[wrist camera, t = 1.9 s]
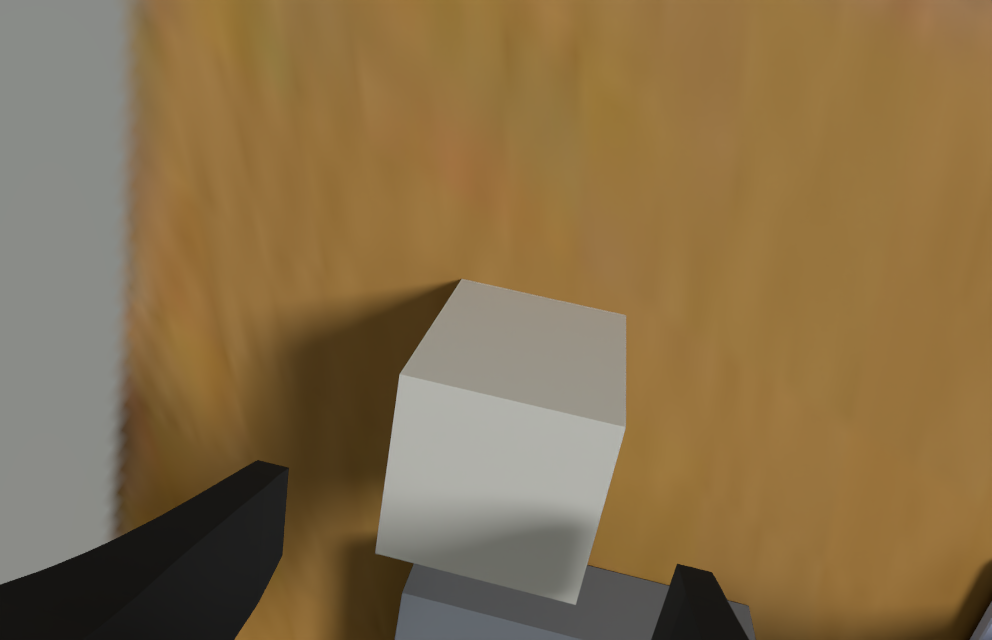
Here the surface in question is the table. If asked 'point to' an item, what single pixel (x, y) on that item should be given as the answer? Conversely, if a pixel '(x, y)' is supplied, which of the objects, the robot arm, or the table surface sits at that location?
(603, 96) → the table surface
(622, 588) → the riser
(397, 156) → the table surface
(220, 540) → the robot arm
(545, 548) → the cream block
